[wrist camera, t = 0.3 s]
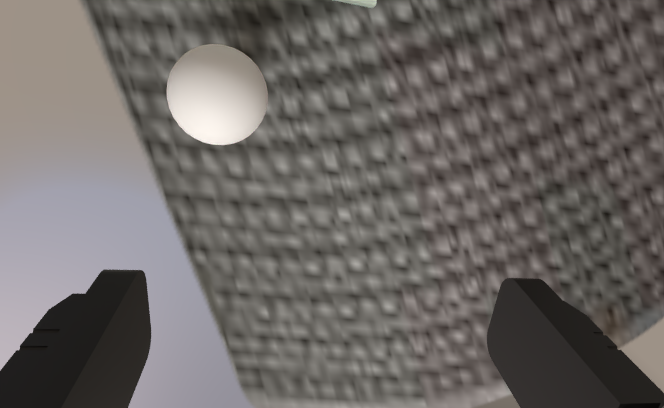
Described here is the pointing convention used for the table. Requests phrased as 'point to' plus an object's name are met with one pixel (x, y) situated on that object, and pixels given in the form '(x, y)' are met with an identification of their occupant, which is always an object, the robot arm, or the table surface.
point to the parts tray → (360, 2)
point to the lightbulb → (217, 94)
